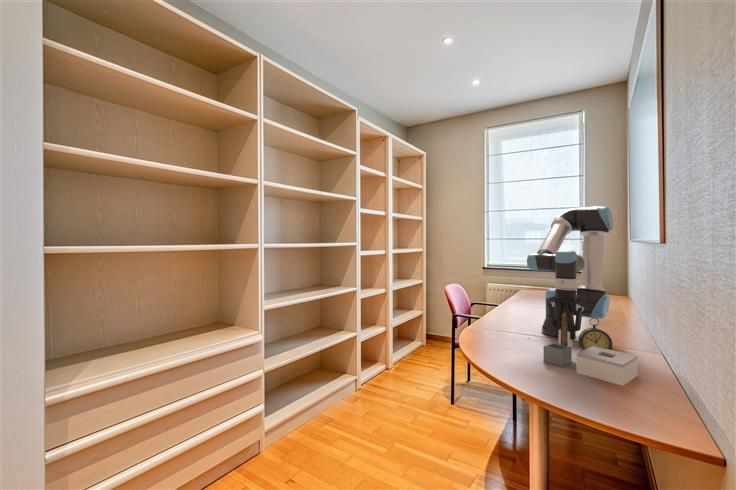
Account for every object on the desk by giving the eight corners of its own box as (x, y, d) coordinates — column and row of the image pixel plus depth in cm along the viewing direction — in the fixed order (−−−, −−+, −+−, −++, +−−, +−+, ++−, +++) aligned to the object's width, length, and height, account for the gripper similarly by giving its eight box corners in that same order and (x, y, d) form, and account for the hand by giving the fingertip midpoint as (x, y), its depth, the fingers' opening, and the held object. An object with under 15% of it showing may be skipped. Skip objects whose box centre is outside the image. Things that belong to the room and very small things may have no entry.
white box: (592, 364, 131) (593, 346, 131) (637, 375, 120) (637, 355, 120) (576, 372, 123) (576, 353, 123) (622, 385, 112) (623, 364, 112)
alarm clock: (581, 358, 137) (581, 318, 137) (577, 354, 143) (577, 315, 142) (612, 361, 134) (613, 320, 134) (607, 356, 139) (607, 317, 139)
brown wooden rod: (563, 355, 141) (563, 312, 141) (570, 357, 139) (570, 313, 139) (560, 356, 140) (560, 312, 139) (567, 358, 137) (567, 314, 137)
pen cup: (552, 358, 138) (552, 342, 138) (571, 363, 132) (571, 347, 132) (543, 361, 134) (543, 345, 134) (562, 367, 128) (562, 350, 128)
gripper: (541, 287, 143) (541, 343, 143) (582, 291, 130) (582, 353, 131) (550, 285, 147) (550, 339, 148) (591, 290, 135) (591, 349, 135)
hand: (565, 346), depth 139 cm, fingers closed on brown wooden rod, 3 cm apart
